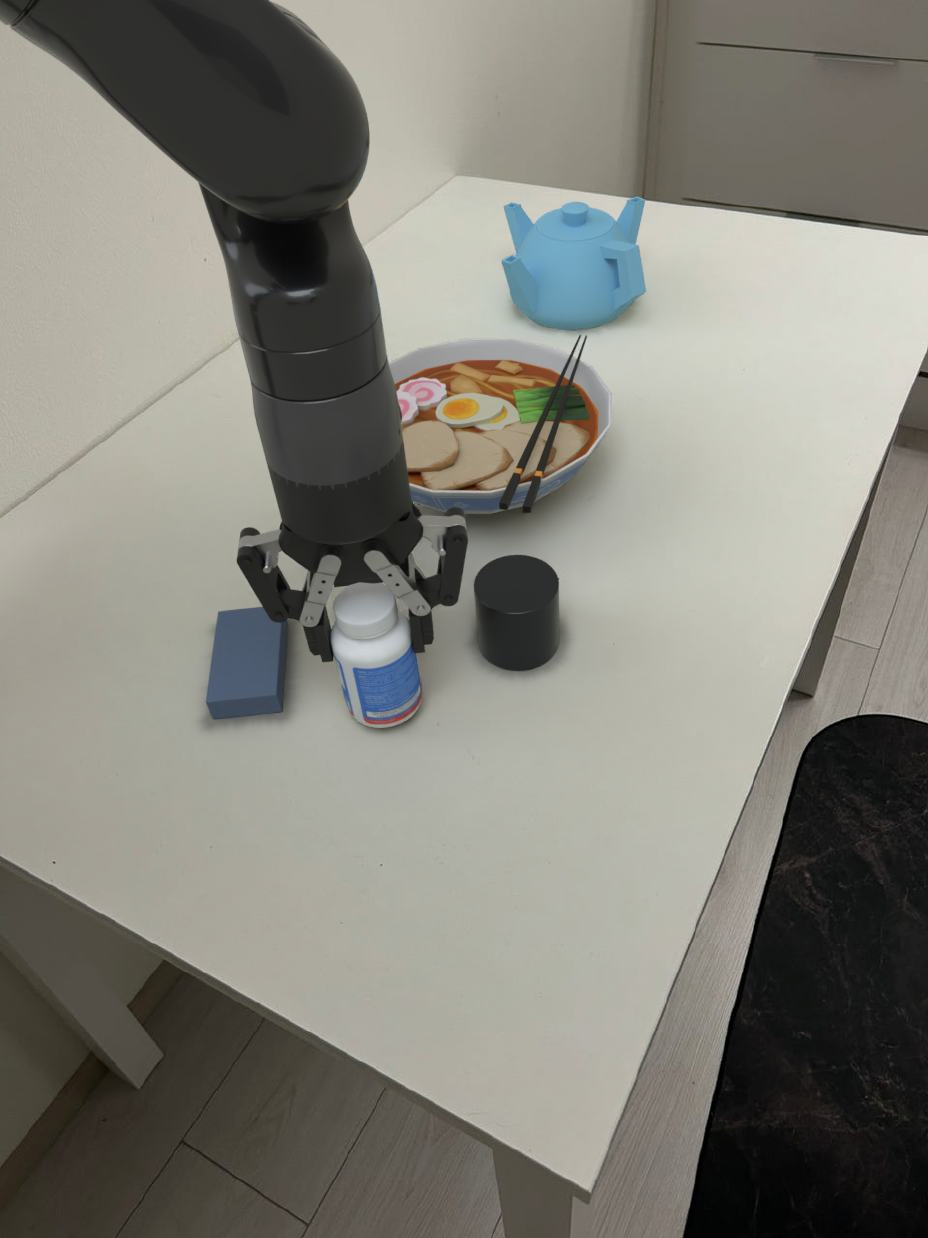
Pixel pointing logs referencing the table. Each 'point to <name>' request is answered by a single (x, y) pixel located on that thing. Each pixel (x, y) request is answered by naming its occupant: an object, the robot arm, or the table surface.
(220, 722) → the table surface
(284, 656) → the blue rectangular block
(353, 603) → the pill bottle
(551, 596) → the black cylinder
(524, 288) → the teapot
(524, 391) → the ramen bowl
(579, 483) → the table surface
